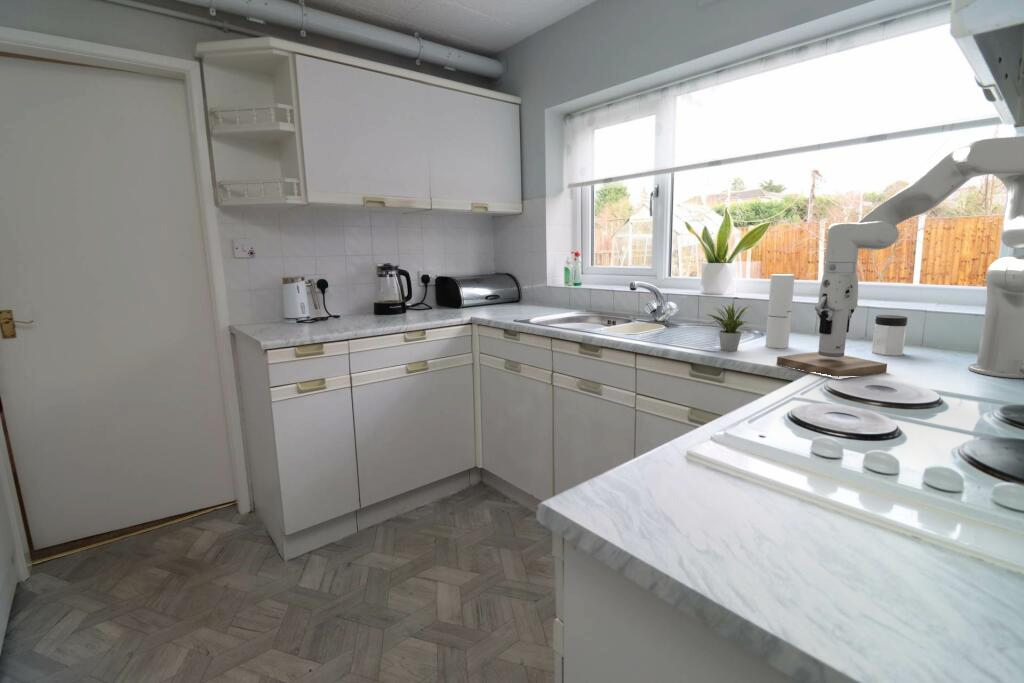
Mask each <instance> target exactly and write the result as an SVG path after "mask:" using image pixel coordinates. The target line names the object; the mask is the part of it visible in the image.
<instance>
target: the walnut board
mask: <svg viewBox="0 0 1024 683" xmlns="http://www.w3.org/2000/svg"><path fill="white" fill-rule="evenodd" d="M777 364H778V365H777ZM776 365H777V366H779V365H782V366H781V367H783V366H787V367H790V368H789V369H791V368H795V369H800V370H804V371H807V372H806V373H808V372H816V373H821V374H827V375H831V376H838V377H839V376H861V377H866V376H872V375H874V376H875V375H879V374H886V373H887V371H888V370H887V369H888V363H886V362H880V361H876V360H870V359H864V358H861V357H856V356H855V357H854V356H850V355H845V354H844V356H843V357H826V356H821V355H819V354H818V351H813V352H805V353H797V354H789V355H782V356H781V355H780V356H777V357H776ZM787 367H786V368H787ZM795 369H794V370H795ZM800 370H799V371H800ZM804 371H803V372H804Z"/></svg>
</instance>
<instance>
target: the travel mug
mask: <svg viewBox="0 0 1024 683" xmlns="http://www.w3.org/2000/svg"><path fill="white" fill-rule="evenodd" d="M848 288H849V287H848ZM851 288H852V285H851ZM848 293H849V289H848V290H846V292H845V294H848ZM845 296H846V295H845ZM847 296H848V297H845V298H844V299H845V300H846V301H845V300H844V301H845V306H844V309H843V310H840V311H834V312H833V315H832V317H831V319H830V320H832V329H831V334H830V335H828V334H821V333H819V340H818V341H819V342H818V351H817V352H818V354H819V355H821V356H826V357H843V356H844V355H845V349H846V339H847V333H846V332H847V322H848V312H849V309H848V302H849V300H848V299H849V298H850V297H849V295H847ZM825 308H828V309H830V308H829V306H825ZM825 312H826V313H827V315H828V312H829V311H825Z"/></svg>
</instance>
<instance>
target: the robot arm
mask: <svg viewBox="0 0 1024 683" xmlns="http://www.w3.org/2000/svg"><path fill="white" fill-rule="evenodd" d="M986 175H993V176H994V177H996V178H997V179H998V180H999V181H1001V182H1002V184H1003V185H1004V186H1005V188H1006V191H1007V200H1006V202H1007V203H1006V208H1005V214H1004V219H1003V224H1002V227H1001V241H1002V244H1004V246H1006V247H1008V248H1011V249H1013V250H1014V249H1015V250H1016V249H1017V250H1024V135H1023V136H1020V135H1019V136H1009V137H1008V136H1007V137H993V138H986V139H980V140H976V141H973V142H969V143H965V144H963V145H959V146H957V147H954V148H953V149H951V150H950V151H948V152H947V153H946V154H945V155H944V156H942V157H941V158H940V159H938V161H936V162H935V163H934V164H933V165H931V166H930V167H929V168H928V169H927V170H926V171H924V172H923V173H922V174H921V175H920V176H919V177H917V178H916V179H915V180H914V181H912V182H911V183H910V184H909V185H907V186H906V187H904V188H902V189H901V190H899V191H898V192H897V193H895V194H894V195H892V196H891V197H889V198H888V199H887V200H884V201H883V202H882V203H879V205H877V206H876V207H874V208H873V209H872V210H870V212H868V213H867V214H865V215H864V216H863V217H862V218H861V219H860V220H859V221H857V222H835V223H833V224H830V225H829V227H828V229H827V235H826V236H827V237H826V245H825V246H826V248H825V257H824V258H825V259H824V267H823V268H824V270H823V274H822V275H823V276H822V279H821V283H820V287H819V292H818V293H819V294H818V300H817V301H818V302H817V303H816V305H815V306H814V310H815V312H816V313H817V315H818V319H819V327H818V328H819V330H818V334H820V333H821V334H828V335H830V334H831V329H832V320H830V319H831V317H832V315H833V312H834V311H840V310H843V309H844V306H845V301H846V300H845V299H844V298H845V297H848V296H847V295H849V297H850V298H849V299H848V300H849V302H848V309H849V312H848V322H847V332H846V334H847V333H849V330H850V323H851V319H852V316H853V314H854V312H855V309H856V308H857V307H858V305H859V304H858V301H859V277H858V273H857V267H858V259H859V251H860V250H870V251H873V250H874V251H879V250H884V249H885V250H886V249H887V248H890V247H891V246H893V245H894V244H895V243H896V242H897V241H898V238H899V236H900V235H899V234H900V232H899V229H898V227H897V225H899V224H900V223H902V222H904V221H906V220H909V219H911V218H913V217H916V216H919V215H922V214H924V213H926V212H929V211H930V210H932V209H935V208H936V207H938V206H939V205H940V204H941V203H942V202H944V201H945V200H946V199H947V198H949V197H950V196H951V195H953V194H954V193H955V192H956V191H957V190H959V189H960V188H961V187H962V186H964V185H965V184H966V183H967V182H968V181H970V180H971V179H973V178H975V177H981V176H986ZM985 283H986V284H985V285H986V304H985V311H984V318H983V322H982V323H983V324H982V329H981V333H980V334H981V336H980V340H979V348H978V353H977V360H976V363H970V364H969V365H968V370H969V371H971V372H974V373H977V374H981V375H986V376H992V377H999V378H1011V379H1024V254H1011V255H1010V254H1009V255H1005V256H1001V257H1000V258H997V259H996V260H994V261H993V262H992V263H991V264H990V265H989V267H988V268H987V270H986V276H985ZM851 285H852V288H851ZM848 287H849V288H848ZM848 289H849V293H848V294H845V292H846V290H848ZM845 295H846V296H845ZM844 300H845V301H844ZM825 306H829V308H830V309H828V308H825ZM825 311H829V312H828V315H827V313H826V312H825Z"/></svg>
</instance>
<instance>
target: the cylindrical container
mask: <svg viewBox="0 0 1024 683" xmlns="http://www.w3.org/2000/svg"><path fill="white" fill-rule="evenodd" d="M795 277H796V276H795V274H792V273H791V274H789V273H786V274H785V273H782V274H781V273H778V274H776V273H773V274H770V282H769V283H770V284H769V295H768V306H767V307H768V310H767V319H766V320H767V321H766V333H765V334H766V335H765V345H764V346H765V347H767V348H773V349H788V348H789V344H790V343H789V341H790V333H791V330H790V329H791V320H792V308H793V300H794V299H793V298H794V296H793V295H794V287H795V286H794V285H795Z"/></svg>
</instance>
